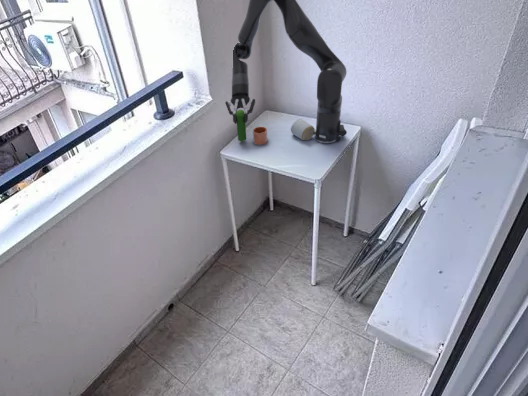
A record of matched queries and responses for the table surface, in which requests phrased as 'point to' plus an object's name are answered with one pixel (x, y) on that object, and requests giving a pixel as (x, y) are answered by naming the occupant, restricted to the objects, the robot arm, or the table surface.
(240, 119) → the cucumber
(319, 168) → the table surface
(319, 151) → the table surface
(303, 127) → the ceramic mug
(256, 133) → the cup
